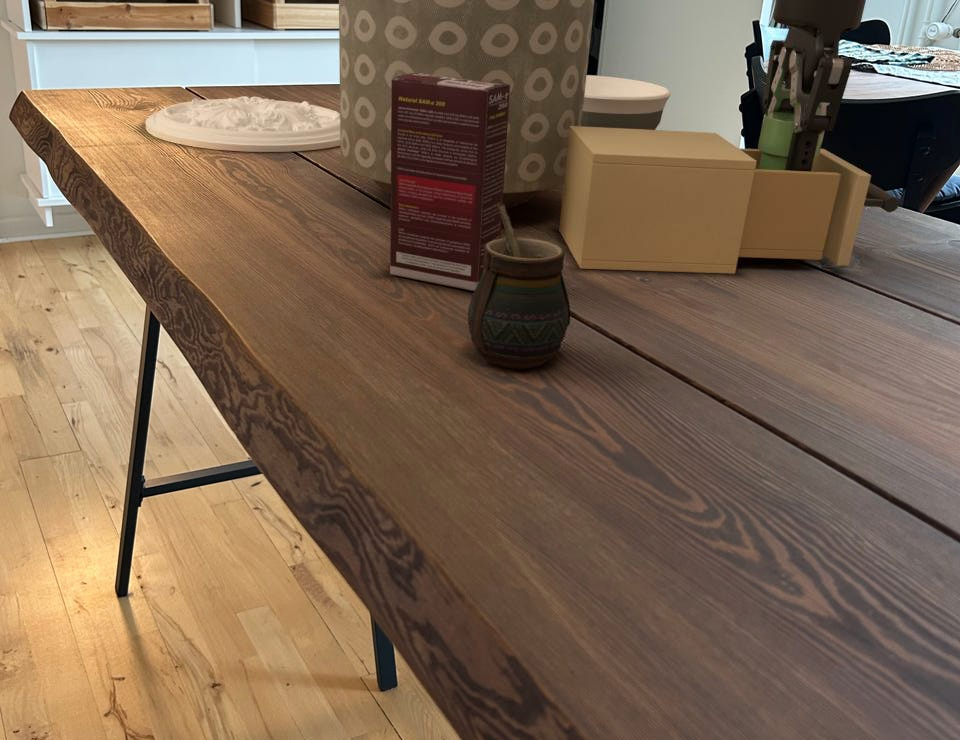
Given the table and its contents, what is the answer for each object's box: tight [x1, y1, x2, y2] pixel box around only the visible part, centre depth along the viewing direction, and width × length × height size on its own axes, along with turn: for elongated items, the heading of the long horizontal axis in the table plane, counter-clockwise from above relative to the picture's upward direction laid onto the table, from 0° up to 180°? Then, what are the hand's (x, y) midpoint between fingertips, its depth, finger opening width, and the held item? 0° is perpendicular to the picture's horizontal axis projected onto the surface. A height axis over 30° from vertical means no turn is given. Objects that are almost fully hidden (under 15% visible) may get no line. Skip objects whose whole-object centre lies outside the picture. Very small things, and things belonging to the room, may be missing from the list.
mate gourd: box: [467, 204, 571, 370], centre depth 72 cm, size 7×8×10 cm
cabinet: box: [558, 126, 757, 275], centre depth 97 cm, size 15×13×10 cm
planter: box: [338, 0, 595, 210], centre depth 105 cm, size 25×25×24 cm
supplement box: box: [389, 73, 510, 292], centre depth 85 cm, size 9×5×16 cm, turn 65°
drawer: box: [737, 147, 900, 267], centre depth 99 cm, size 18×11×8 cm, turn 95°
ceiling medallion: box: [145, 95, 340, 153], centre depth 138 cm, size 28×28×3 cm
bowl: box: [581, 74, 672, 130], centre depth 139 cm, size 19×19×8 cm
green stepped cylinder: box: [757, 112, 825, 170], centre depth 96 cm, size 6×6×5 cm
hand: (785, 167), depth 97 cm, fingers closed on green stepped cylinder, 5 cm apart
